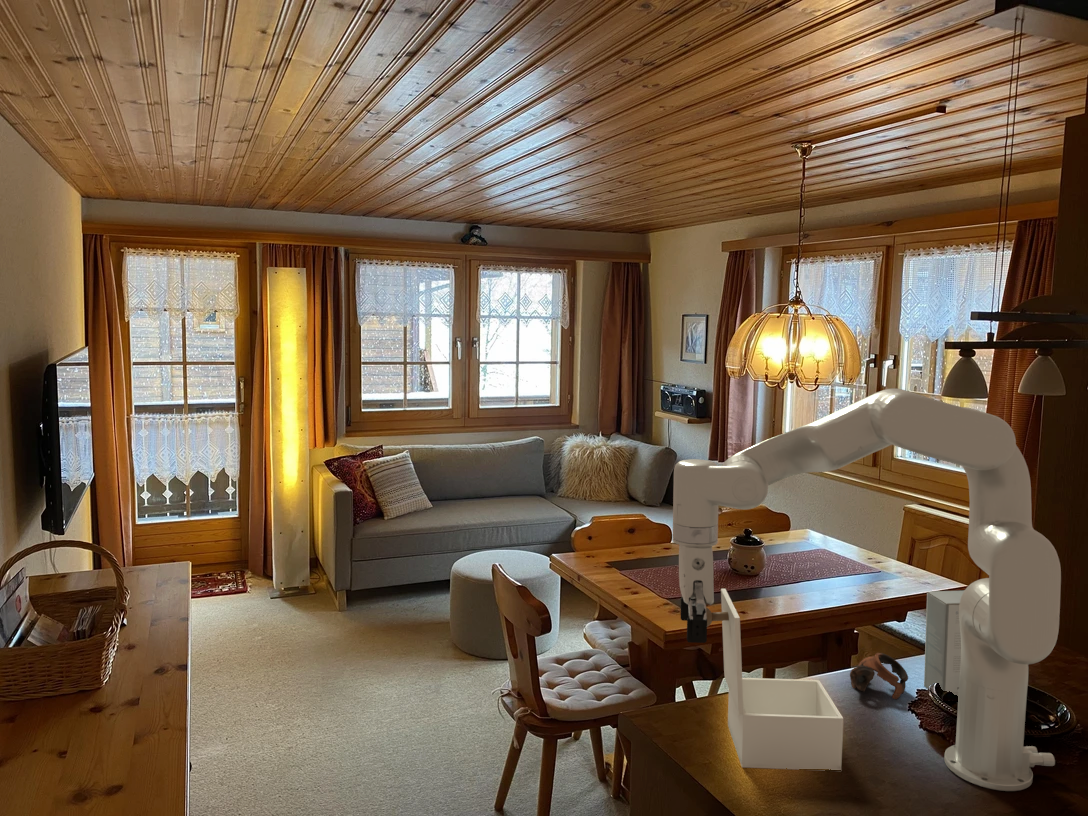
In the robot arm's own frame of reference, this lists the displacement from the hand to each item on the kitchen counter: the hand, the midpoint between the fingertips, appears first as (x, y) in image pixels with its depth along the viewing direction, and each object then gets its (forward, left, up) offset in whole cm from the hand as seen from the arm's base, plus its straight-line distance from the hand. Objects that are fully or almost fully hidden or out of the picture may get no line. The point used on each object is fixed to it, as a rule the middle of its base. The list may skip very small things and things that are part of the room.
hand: (693, 630), depth 135 cm
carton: (-15, 0, -20) cm, 26 cm away
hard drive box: (-57, -23, -21) cm, 65 cm away
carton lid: (-7, 0, -3) cm, 8 cm away
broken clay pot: (-39, -23, -21) cm, 50 cm away
